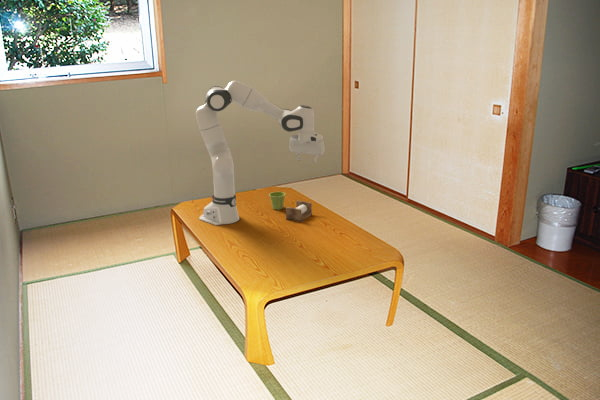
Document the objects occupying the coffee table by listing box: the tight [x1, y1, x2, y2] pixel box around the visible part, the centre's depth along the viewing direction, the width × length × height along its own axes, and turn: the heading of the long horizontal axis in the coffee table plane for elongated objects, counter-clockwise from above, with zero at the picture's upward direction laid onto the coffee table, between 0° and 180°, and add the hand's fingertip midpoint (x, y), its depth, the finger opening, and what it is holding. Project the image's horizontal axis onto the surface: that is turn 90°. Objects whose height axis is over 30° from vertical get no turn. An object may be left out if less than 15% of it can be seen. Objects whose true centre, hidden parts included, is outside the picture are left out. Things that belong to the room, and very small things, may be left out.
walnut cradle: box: [285, 200, 313, 223], centre depth 292 cm, size 9×13×7 cm
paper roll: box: [295, 204, 307, 215], centre depth 291 cm, size 8×5×5 cm, turn 151°
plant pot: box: [268, 191, 286, 211], centre depth 306 cm, size 9×9×9 cm
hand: (306, 161), depth 287 cm, fingers open, 8 cm apart
